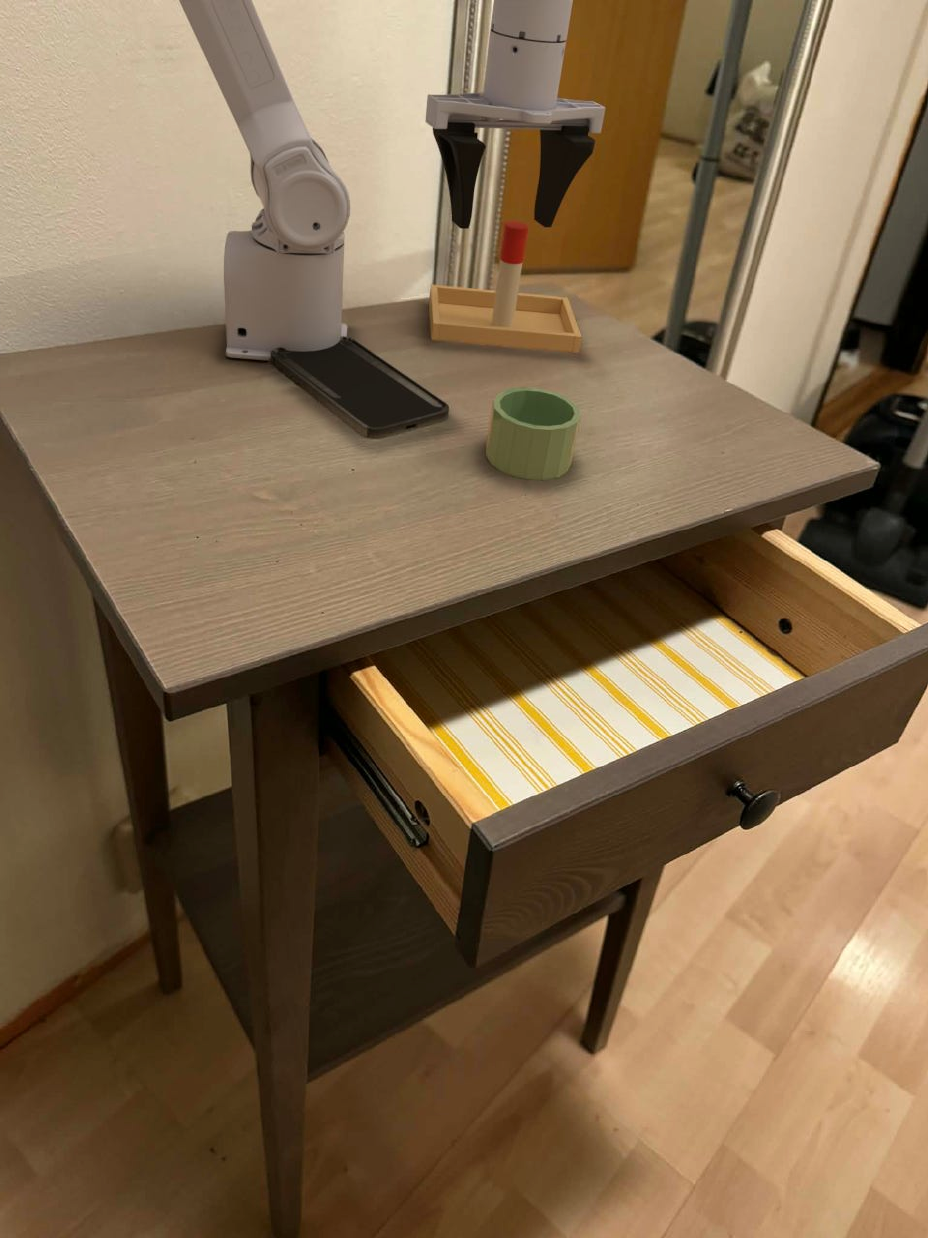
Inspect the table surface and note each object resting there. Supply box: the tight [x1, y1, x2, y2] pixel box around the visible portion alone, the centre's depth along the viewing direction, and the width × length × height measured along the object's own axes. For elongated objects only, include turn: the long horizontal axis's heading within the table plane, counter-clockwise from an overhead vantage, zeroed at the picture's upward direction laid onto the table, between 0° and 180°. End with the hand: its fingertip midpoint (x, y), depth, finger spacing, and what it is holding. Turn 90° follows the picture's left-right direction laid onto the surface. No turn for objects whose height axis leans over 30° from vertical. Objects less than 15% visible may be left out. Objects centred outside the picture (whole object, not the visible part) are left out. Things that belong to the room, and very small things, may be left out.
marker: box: [491, 220, 529, 328], centre depth 84 cm, size 2×2×9 cm
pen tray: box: [428, 284, 582, 354], centre depth 87 cm, size 13×9×2 cm
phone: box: [270, 336, 450, 440], centre depth 74 cm, size 8×1×15 cm
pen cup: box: [485, 386, 582, 481], centre depth 68 cm, size 6×6×4 cm
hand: (502, 223), depth 78 cm, fingers open, 7 cm apart
